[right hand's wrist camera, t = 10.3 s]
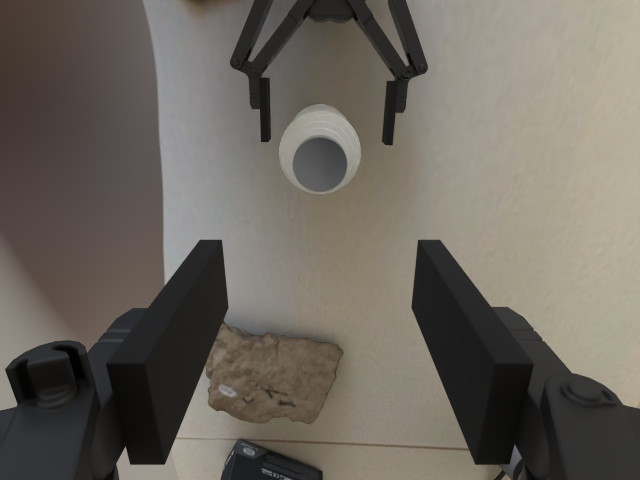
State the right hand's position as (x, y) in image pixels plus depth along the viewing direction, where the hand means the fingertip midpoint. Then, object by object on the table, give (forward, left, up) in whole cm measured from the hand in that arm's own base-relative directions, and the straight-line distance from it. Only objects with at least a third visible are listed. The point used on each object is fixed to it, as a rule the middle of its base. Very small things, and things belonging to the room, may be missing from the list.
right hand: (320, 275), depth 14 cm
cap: (0, 0, -21) cm, 21 cm away
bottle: (0, 0, -39) cm, 39 cm away
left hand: (0, -1, -33) cm, 33 cm away
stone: (-36, -1, -39) cm, 53 cm away
